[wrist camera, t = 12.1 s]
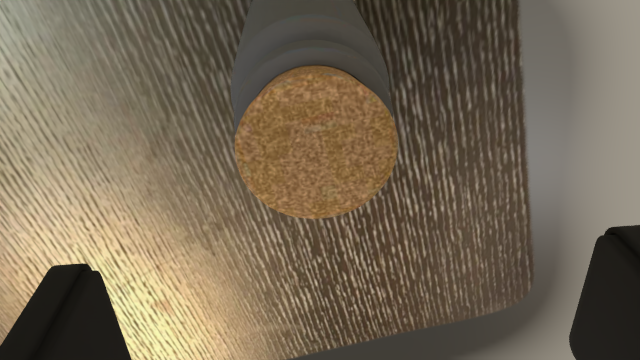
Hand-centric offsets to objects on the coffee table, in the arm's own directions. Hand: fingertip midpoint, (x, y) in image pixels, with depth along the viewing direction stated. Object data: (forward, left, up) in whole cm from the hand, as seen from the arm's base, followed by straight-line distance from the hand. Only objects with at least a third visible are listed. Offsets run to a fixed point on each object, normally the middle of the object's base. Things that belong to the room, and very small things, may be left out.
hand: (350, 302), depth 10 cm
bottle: (0, 0, -21) cm, 21 cm away
